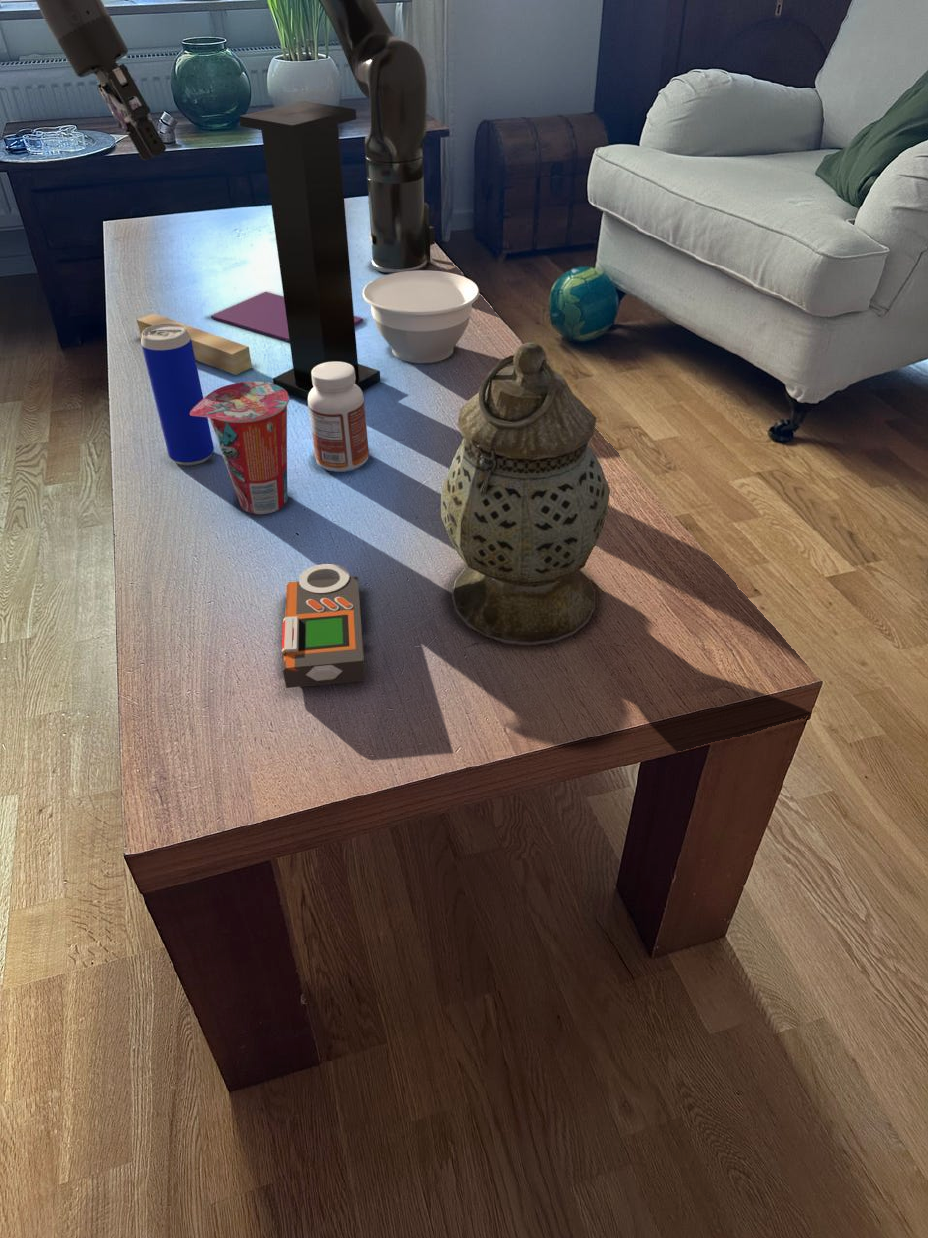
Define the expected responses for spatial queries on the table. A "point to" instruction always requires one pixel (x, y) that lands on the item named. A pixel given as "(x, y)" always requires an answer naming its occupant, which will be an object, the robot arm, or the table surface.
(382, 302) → the bowl
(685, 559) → the table surface
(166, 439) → the beverage can
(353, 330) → the stand
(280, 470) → the cup
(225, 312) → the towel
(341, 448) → the pill bottle
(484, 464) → the lantern
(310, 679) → the electronic device
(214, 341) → the birch stick
